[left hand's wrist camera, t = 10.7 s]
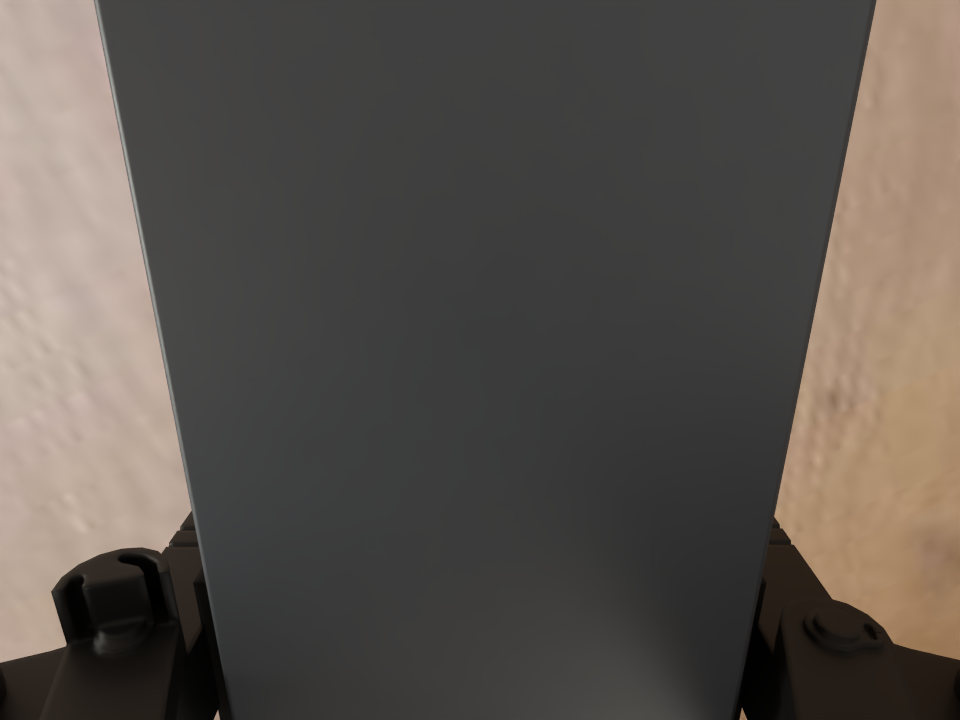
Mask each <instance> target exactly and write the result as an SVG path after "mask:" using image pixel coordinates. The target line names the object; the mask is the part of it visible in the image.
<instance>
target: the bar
mask: <svg viewBox="0 0 960 720" xmlns="http://www.w3.org/2000/svg"><path fill="white" fill-rule="evenodd" d="M94 3H95V9H96V14H97V19H98V24H99V29H100V35H101V40H102V45H103V50H104V55H105V61H106V66H107V71H108V76H109V81H110V87H111V92H112V97H113V102H114V107H115V113H116V118H117V123H118V128H119V133H120V139H121V144H122V149H123V154H124V159H125V165H126V170H127V175H128V180H129V186H130V191H131V196H132V201H133V206H134V212H135V217H136V222H137V227H138V232H139V238H140V243H141V248H142V253H143V258H144V264H145V269H146V274H147V279H148V284H149V290H150V295H151V300H152V305H153V310H154V316H155V321H156V326H157V331H158V336H159V342H160V347H161V352H162V357H163V362H164V368H165V373H166V378H167V383H168V388H169V394H170V399H171V404H172V409H173V414H174V420H175V425H176V430H177V435H178V440H179V446H180V451H181V456H182V461H183V466H184V472H185V477H186V482H187V487H188V493H189V498H190V503H191V508H192V513H193V519H194V524H195V529H196V534H197V539H198V545H199V550H200V555H201V560H202V565H203V571H204V576H205V581H206V586H207V591H208V597H209V602H210V607H211V612H212V617H213V623H214V628H215V633H216V638H217V643H218V649H219V654H220V659H221V664H222V669H223V675H224V680H225V685H226V690H227V695H228V701H229V706H230V711H231V716H232V720H734V716H735V711H736V706H737V701H738V696H739V691H740V686H741V681H742V676H743V671H744V665H745V660H746V655H747V650H748V645H749V640H750V635H751V630H752V625H753V620H754V615H755V610H756V605H757V600H758V595H759V590H760V585H761V580H762V575H763V570H764V565H765V560H766V555H767V550H768V544H769V539H770V534H771V529H772V524H773V519H774V514H775V509H776V504H777V499H778V494H779V489H780V484H781V479H782V474H783V469H784V464H785V459H786V454H787V449H788V444H789V439H790V434H791V429H792V424H793V418H794V413H795V408H796V403H797V398H798V393H799V388H800V383H801V378H802V373H803V368H804V363H805V358H806V353H807V348H808V343H809V338H810V333H811V328H812V323H813V318H814V313H815V308H816V303H817V297H818V292H819V287H820V282H821V277H822V272H823V267H824V262H825V257H826V252H827V247H828V242H829V237H830V232H831V227H832V222H833V217H834V212H835V207H836V202H837V197H838V192H839V187H840V182H841V176H842V171H843V166H844V161H845V156H846V151H847V146H848V141H849V136H850V131H851V126H852V121H853V116H854V111H855V106H856V101H857V96H858V91H859V86H860V81H861V76H862V71H863V66H864V61H865V56H866V50H867V45H868V40H869V35H870V30H871V25H872V20H873V15H874V10H875V5H876V0H94Z"/></svg>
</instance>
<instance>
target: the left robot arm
mask: <svg viewBox="0 0 960 720" xmlns="http://www.w3.org/2000/svg"><path fill="white" fill-rule="evenodd" d="M51 593H52V596H53V599H54V603H55V606H56V609H57V613H58V616H59V619H60V623H61V626H62V629H63V633H64V636H65V639H66V643H67V645H66V647H63V648H59V649H56V650H53V651H49V652H45V653H41V654H36V655H32V656H28V657H24V658H19V659H15V660H11V661H6V662H2V663H0V720H214V718H215V715H216V713H217V711H219V716H220V720H232V716H231V711H230V706H229V701H228V695H227V690H226V685H225V680H224V675H223V669H222V664H221V659H220V654H219V649H218V643H217V638H216V633H215V628H214V623H213V617H212V612H211V607H210V602H209V597H208V591H207V586H206V581H205V576H204V571H203V565H202V560H201V555H200V550H199V545H198V539H197V534H196V529H195V524H194V519H193V513H192V511H191V512H190V514H189V515H188V517H187V518H186V520H185V521H184V522H183V524H182V525H181V527H180V531H177V532H176V534H175V535H174V537H173V538H172V539H171V541H170V542H169V547H166V548H165V549H164V551H163V552H162V554H161V553H159V552H158V551H155V550H151V549H146V548H126V549H119V550H115V551H111V552H108V553H104V554H100V555H98V556H96V557H94V558H92V559H89V560H87V561H85V562H83V563H81V564H79V565H78V566H76V567H75V568H74V569H72V570H71V571H70V572H68V573H67V574H66V575H64V576H63V577H62V578H61V579H60V580H59V582H58V583H57V584H56V586H55V587H54V589H53V590H52V591H51ZM742 708H743V711H744V713H745V715H746V718H747V720H960V660H957V659H952V658H948V657H944V656H939V655H935V654H931V653H926V652H922V651H918V650H913V649H909V648H906V647H903V646H899V645H896V644H893V642H892V641H891V639H890V637H889V636H888V634H887V633H886V631H885V630H884V628H883V627H882V626H880V625H879V624H878V623H877V622H876V621H875V620H873V619H872V618H871V617H870V616H869V615H868V614H866V613H864V612H862V611H860V610H858V609H856V608H854V607H853V606H851V605H849V604H847V603H843V602H840V601H836V600H833V599H832V598H831V597H830V595H829V594H828V592H827V591H826V590H825V588H824V587H823V585H822V584H821V583H820V581H819V580H818V578H817V577H816V576H815V574H814V573H813V571H812V570H811V568H810V567H809V566H808V564H807V563H806V561H805V560H804V559H803V557H802V556H801V554H800V553H799V551H798V550H797V549H796V547H795V546H794V545H791V540H790V539H789V537H788V536H787V534H786V533H785V532H784V530H783V529H780V525H779V523H778V522H777V520H776V519H775V517H774V519H773V524H772V529H771V534H770V539H769V544H768V550H767V555H766V560H765V565H764V570H763V575H762V580H761V585H760V590H759V595H758V600H757V605H756V610H755V615H754V620H753V625H752V630H751V635H750V640H749V645H748V650H747V655H746V660H745V665H744V671H743V676H742V681H741V686H740V691H739V696H738V701H737V706H736V711H735V716H734V720H739V719H740V714H741V709H742Z"/></svg>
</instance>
